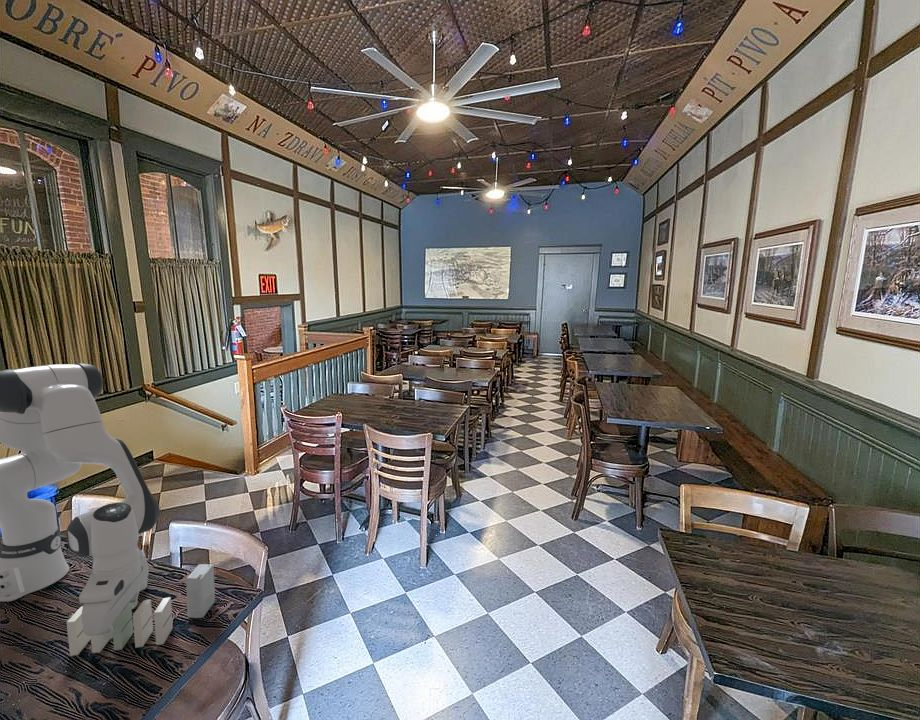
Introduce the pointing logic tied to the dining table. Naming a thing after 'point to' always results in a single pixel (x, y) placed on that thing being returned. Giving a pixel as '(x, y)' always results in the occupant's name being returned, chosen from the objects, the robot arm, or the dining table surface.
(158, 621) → the domino
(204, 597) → the skincare box
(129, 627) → the pale green domino
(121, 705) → the dining table surface
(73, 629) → the domino
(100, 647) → the domino
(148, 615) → the domino
